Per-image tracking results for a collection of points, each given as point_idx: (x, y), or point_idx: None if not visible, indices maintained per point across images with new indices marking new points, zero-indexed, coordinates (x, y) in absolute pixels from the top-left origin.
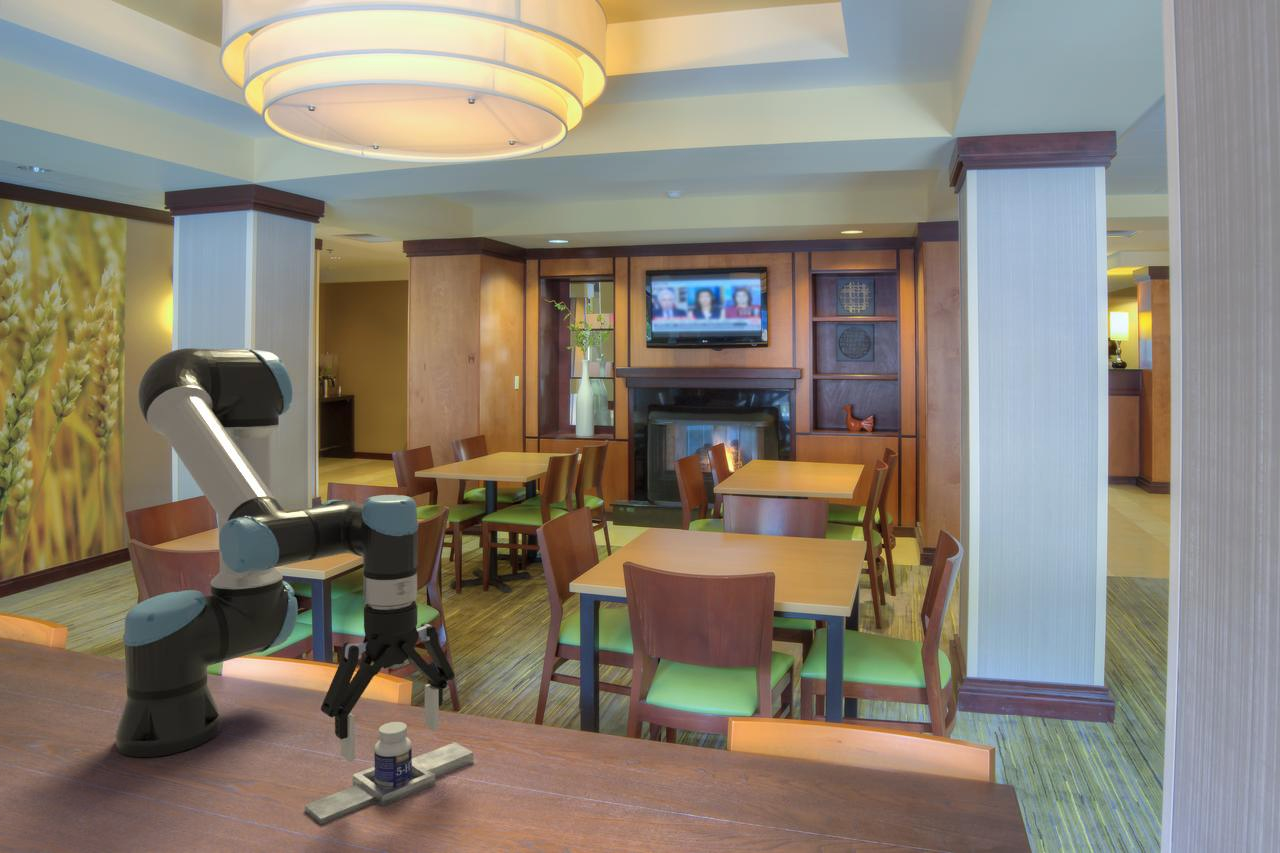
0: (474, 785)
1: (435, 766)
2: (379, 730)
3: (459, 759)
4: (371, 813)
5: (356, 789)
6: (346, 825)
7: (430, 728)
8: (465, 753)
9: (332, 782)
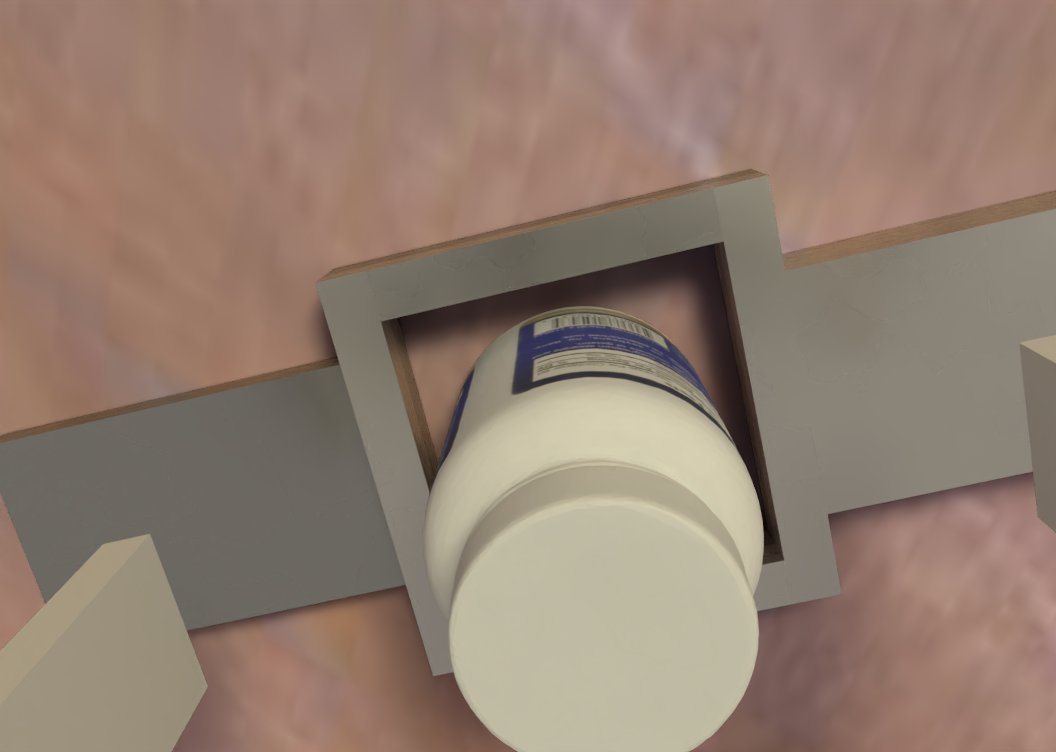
0: (1027, 690)
1: (894, 489)
2: (450, 633)
3: None
4: (369, 668)
5: (323, 426)
6: (215, 712)
7: (1034, 456)
8: None
9: (210, 142)
